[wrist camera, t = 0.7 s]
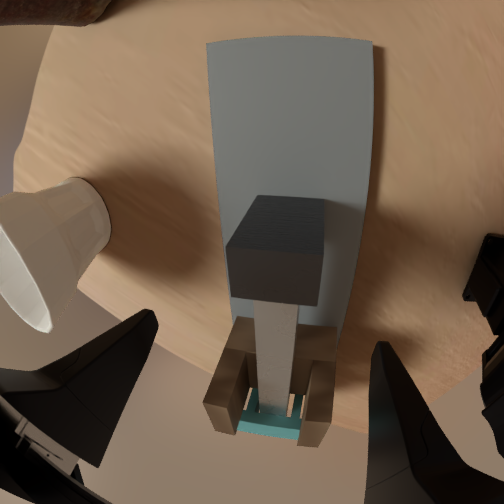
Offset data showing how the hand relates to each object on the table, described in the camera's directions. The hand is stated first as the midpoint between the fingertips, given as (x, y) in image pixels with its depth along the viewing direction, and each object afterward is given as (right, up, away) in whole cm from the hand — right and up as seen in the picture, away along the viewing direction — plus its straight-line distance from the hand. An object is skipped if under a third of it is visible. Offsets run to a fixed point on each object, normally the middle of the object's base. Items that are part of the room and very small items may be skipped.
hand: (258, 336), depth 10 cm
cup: (-18, +7, +15) cm, 24 cm away
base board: (+3, +2, +12) cm, 12 cm away
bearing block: (+3, -5, +16) cm, 17 cm away
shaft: (+3, -3, +14) cm, 14 cm away
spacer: (+3, -11, +16) cm, 19 cm away
